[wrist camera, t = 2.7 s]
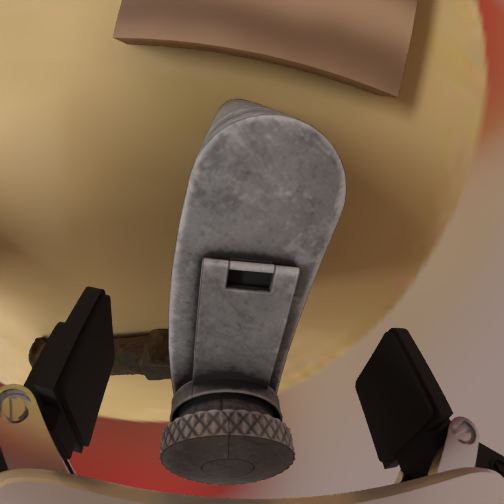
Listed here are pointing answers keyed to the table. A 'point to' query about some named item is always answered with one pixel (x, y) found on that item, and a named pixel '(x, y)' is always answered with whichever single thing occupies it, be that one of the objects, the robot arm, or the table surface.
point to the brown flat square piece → (285, 34)
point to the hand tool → (132, 355)
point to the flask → (244, 289)
